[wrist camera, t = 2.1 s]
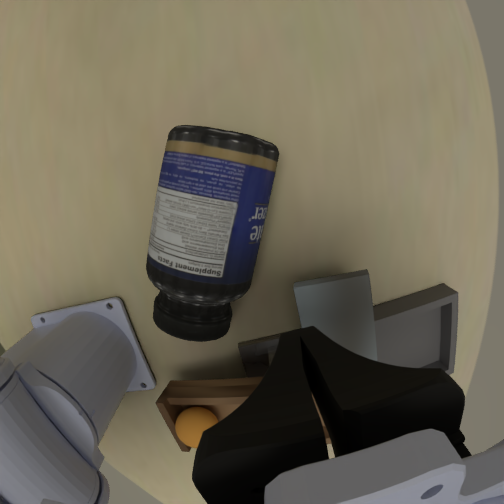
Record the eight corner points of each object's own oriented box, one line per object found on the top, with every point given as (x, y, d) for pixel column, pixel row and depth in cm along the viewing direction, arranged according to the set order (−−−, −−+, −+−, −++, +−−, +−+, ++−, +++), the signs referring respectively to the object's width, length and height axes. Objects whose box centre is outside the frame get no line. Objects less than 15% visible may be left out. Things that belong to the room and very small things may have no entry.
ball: (191, 427, 21) (179, 455, 18) (177, 398, 20) (161, 426, 18) (229, 427, 20) (219, 457, 18) (216, 397, 20) (204, 427, 17)
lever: (193, 428, 22) (182, 451, 20) (140, 305, 20) (119, 323, 17) (378, 416, 19) (382, 442, 16) (366, 269, 16) (374, 287, 14)
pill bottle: (277, 151, 20) (242, 312, 22) (183, 133, 19) (157, 293, 22) (285, 139, 14) (237, 359, 16) (154, 117, 13) (126, 333, 16)
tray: (366, 388, 24) (374, 403, 22) (358, 310, 22) (368, 322, 20) (441, 360, 23) (453, 372, 21) (443, 283, 22) (458, 292, 20)
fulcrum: (260, 412, 24) (261, 439, 21) (238, 343, 23) (237, 368, 19) (319, 399, 24) (327, 425, 21) (306, 327, 22) (315, 350, 19)
